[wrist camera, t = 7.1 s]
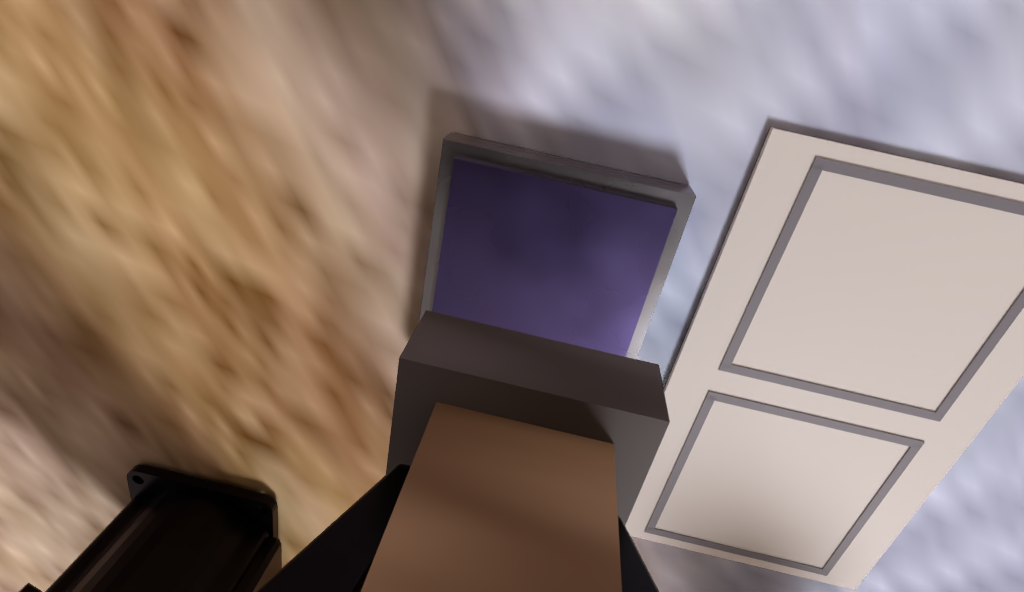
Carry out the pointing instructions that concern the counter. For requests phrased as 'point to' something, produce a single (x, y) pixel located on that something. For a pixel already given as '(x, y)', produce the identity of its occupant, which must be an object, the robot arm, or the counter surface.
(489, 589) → the stamp
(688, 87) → the counter surface
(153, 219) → the counter surface
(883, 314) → the form sheet
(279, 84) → the counter surface
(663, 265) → the ink pad
